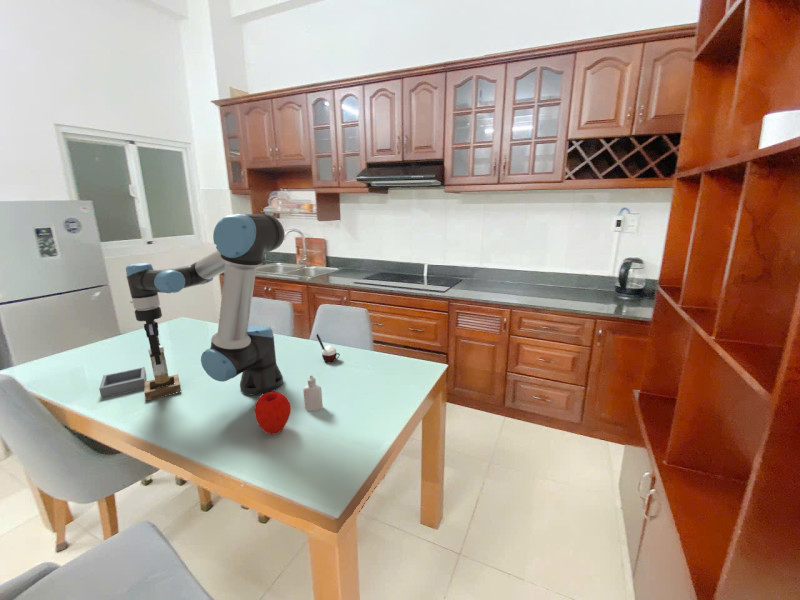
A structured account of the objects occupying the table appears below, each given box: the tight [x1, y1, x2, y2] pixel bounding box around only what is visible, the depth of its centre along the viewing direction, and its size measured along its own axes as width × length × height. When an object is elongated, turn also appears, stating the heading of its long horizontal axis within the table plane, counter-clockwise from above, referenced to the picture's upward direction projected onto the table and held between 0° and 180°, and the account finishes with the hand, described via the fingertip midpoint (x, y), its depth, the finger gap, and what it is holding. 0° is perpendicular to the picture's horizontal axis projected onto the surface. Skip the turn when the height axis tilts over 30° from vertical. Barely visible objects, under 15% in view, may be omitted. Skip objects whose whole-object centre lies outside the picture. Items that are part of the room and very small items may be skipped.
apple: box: [253, 391, 292, 435], centre depth 104 cm, size 10×10×12 cm
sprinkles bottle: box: [147, 344, 170, 384], centre depth 128 cm, size 5×5×14 cm
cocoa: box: [316, 333, 340, 363], centre depth 154 cm, size 10×6×12 cm, turn 64°
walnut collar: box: [143, 374, 182, 401], centre depth 131 cm, size 11×11×3 cm
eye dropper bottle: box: [303, 374, 324, 412], centre depth 116 cm, size 4×6×12 cm
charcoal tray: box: [99, 366, 147, 399], centre depth 135 cm, size 13×13×4 cm
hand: (160, 369), depth 129 cm, fingers closed on sprinkles bottle, 4 cm apart
